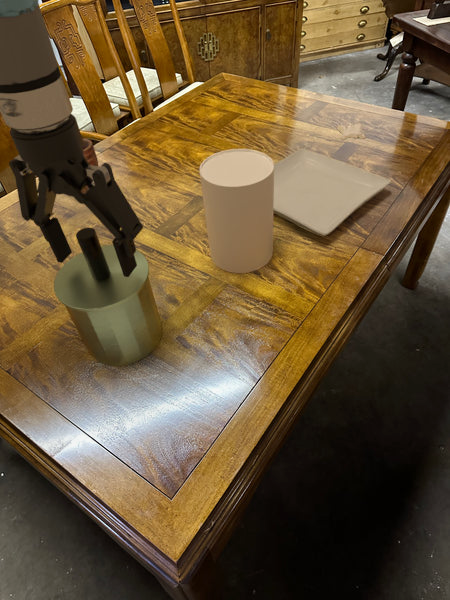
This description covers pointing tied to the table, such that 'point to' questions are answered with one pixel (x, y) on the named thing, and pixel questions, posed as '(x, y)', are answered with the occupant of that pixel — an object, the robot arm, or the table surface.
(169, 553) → the table surface
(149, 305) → the pot
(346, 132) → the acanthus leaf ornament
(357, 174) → the square plate
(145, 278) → the lid
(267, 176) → the canister
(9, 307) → the table surface
